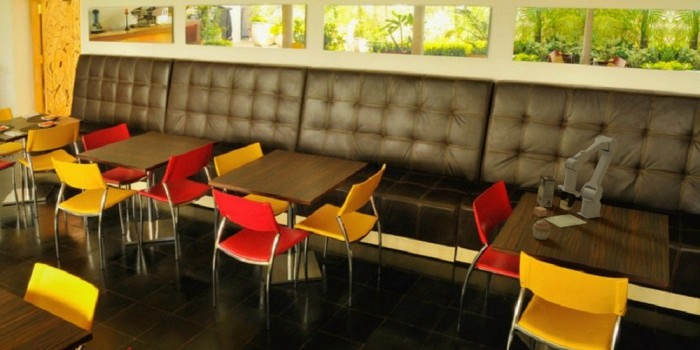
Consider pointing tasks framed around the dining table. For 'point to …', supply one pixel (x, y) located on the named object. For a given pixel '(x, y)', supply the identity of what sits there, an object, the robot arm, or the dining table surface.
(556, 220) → the pale green rectangular panel
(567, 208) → the birch block
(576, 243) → the dining table surface
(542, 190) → the coffee box
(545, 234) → the cupcake
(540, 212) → the terracotta block
